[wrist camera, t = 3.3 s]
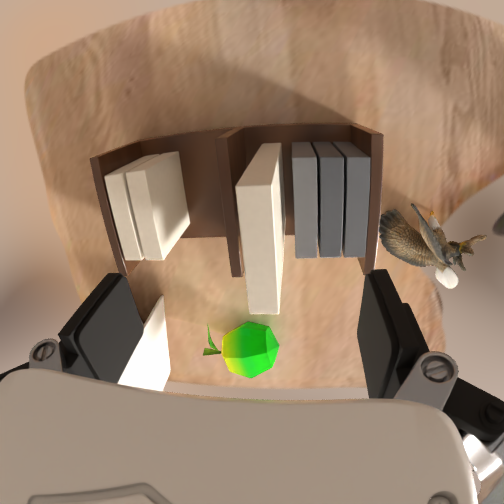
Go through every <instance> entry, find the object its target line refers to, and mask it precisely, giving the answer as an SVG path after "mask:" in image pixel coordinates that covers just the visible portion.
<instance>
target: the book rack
mask: <svg viewBox="0 0 504 504" xmlns="http://www.w3.org/2000/svg"><path fill="white" fill-rule="evenodd" d="M292 142H310V144H311V146H312V148H313V145H312V143H313V142H330V143H331V144H332V145H333V142H351V143H352V144H353V145H355V146H356V147H357V148H359V149H360V150H361V151H363V152H364V153H365V154H366V155H368V156H369V157H370V189H369V209H368V224H367V237H366V249H365V257H358V260H359V263H360V266H361V269H362V272H363V275H366V274H370V272H371V270H374V269H375V261H376V253H377V244H378V234H379V223H380V211H381V196H382V177H383V134H381V133H379V132H376V131H374V130H372V129H369V128H367V127H364V126H362V125H359V124H352V123H300V124H274V125H257V126H243V127H231V128H221V129H212V130H203V131H195V132H187V133H180V134H173V135H167V136H160V137H154V138H148V139H143V140H137V141H135V142H132V143H129V144H126V145H123V146H121V147H118V148H115V149H113V150H110V151H108V152H105V153H102V154H100V155H97V156H95V157H93V158H90V162H91V167H92V172H93V177H94V182H95V186H96V191H97V195H98V199H99V203H100V207H101V211H102V215H103V219H104V223H105V227H106V230H107V234H108V237H109V241H110V244H111V248H112V251H113V255H114V258H115V261H116V264H117V267H118V271H119V273H121V274H122V275H123V276H129V274H130V273H131V272H132V271H133V269H134V268H135V267H136V266H137V264H138V263H139V262H140V261H141V260H125V257H124V254H123V250H122V247H121V243H120V239H119V236H118V232H117V228H116V224H115V220H114V216H113V212H112V208H111V204H110V200H109V196H108V191H107V187H106V182H105V175H107V174H109V173H111V172H113V171H115V170H117V169H119V168H121V167H123V166H125V165H127V164H129V163H131V162H133V161H135V160H137V159H139V158H142V157H144V156H148V155H155V154H159V155H161V154H163V153H169V152H177V151H178V152H179V157H180V164H181V171H182V177H183V184H184V190H185V196H186V202H187V208H188V214H189V220H190V224H189V226H188V227H187V228H186V230H185V231H184V232H183V234H182V235H181V237H180V238H199V237H227V244H228V251H229V259H230V266H231V273H232V277H242V276H243V273H244V262H243V253H242V244H241V235H240V226H239V216H238V207H237V198H236V188H235V187H236V185H237V183H238V181H239V180H240V178H241V177H242V175H243V173H244V172H245V170H246V169H247V167H248V165H249V164H250V162H251V161H252V159H253V158H254V156H255V154H256V153H257V151H258V150H259V148H260V147H261V145H262V144H264V143H281V145H282V161H283V178H284V197H285V218H286V222H285V235H295V217H294V190H293V168H292Z"/></svg>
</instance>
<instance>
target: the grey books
mask: <svg viewBox="0 0 504 504" xmlns="http://www.w3.org/2000/svg"><path fill="white" fill-rule="evenodd" d="M312 145H313V148H312V146H311V144H310V142H292V168H293V190H294V217H295V256H296V258H317V240H318V247H319V253H320V257H321V258H335V257H341V251H343V255H344V257H345V258H347V257H365V249H366V237H367V224H368V209H369V189H370V157H369V156H368V155H366V154H365V153H364V152H363V151H361V150H360V149H359V148H357V147H356V146H355V145H353V144H352V143H351V142H333V145H332V144H331V143H330V142H313V143H312Z"/></svg>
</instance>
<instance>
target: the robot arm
mask: <svg viewBox="0 0 504 504" xmlns="http://www.w3.org/2000/svg"><path fill="white" fill-rule="evenodd" d="M143 333H144V327H143V324H142V321H141V318H140V316H139V313H138V310H137V307H136V304H135V302H134V299H133V296H132V293H131V290H130V287H129V284H128V281H127V278H126V277H124V276H123V275H122V274H121V273H108V274H107V275H106V276H105V277H104V278H103V280H102V281H101V282H100V283H99V284H98V285H97V287H96V288H95V289H94V290H93V291H92V292H91V294H90V295H89V296H88V297H87V298H86V300H85V301H84V302H83V303H82V305H81V306H80V307H79V308H78V309H77V311H76V312H75V313H74V314H73V316H72V317H71V318H70V320H69V321H68V322H67V323H66V325H65V326H64V327H63V329H62V330H61V331H60V333H59V334H58V336H59V337H60V339H61V341H60V342H59V343H58V342H57V341H56V340H55V339H45V340H42V341H40V342H39V343H37V344H36V345H35V346H34V347H33V348H32V350H31V352H30V355H29V362H27V363H25V364H22V365H20V366H18V367H16V368H13V369H11V370H9V371H7V372H5V373H2V374H0V504H504V402H503V401H502V400H500V399H498V398H497V397H495V396H492V395H491V394H489V393H487V392H485V391H483V390H481V389H479V388H477V387H475V386H473V385H472V384H470V383H468V382H466V381H464V380H462V379H460V378H458V372H459V371H458V366H457V364H456V362H455V361H454V360H453V359H452V358H451V357H450V356H449V355H447V354H445V353H442V352H438V351H431V352H430V351H429V349H428V346H427V344H426V342H425V339H424V337H423V334H422V332H421V330H420V328H419V325H418V323H417V321H416V319H415V316H414V314H413V312H412V310H411V308H410V306H409V304H408V303H402V302H401V299H400V297H399V295H398V293H397V291H396V288H395V286H394V284H393V282H392V280H391V278H390V276H389V274H388V272H387V270H386V269H377V270H371V272H370V274H366V275H365V281H364V289H363V296H362V303H361V310H360V316H359V323H358V329H357V338H358V343H359V347H360V352H361V357H362V362H363V367H364V372H365V378H366V383H367V389H368V395H369V399H338V400H258V399H256V400H255V399H236V398H222V397H210V396H199V395H189V394H180V393H173V392H165V391H158V390H151V389H145V388H139V387H133V386H127V385H121V384H118V382H119V380H120V378H121V376H122V374H123V372H124V370H125V368H126V366H127V364H128V362H129V360H130V358H131V356H132V355H133V353H134V351H135V349H136V347H137V345H138V343H139V341H140V339H141V338H142V336H143ZM470 463H471V464H472V466H473V467H474V468H475V469H474V470H473V471H474V472H475V473H476V475H477V476H478V477H479V479H480V481H481V490H480V493H479V495H478V496H477V493H476V488H475V483H474V479H473V474H472V470H471V465H470ZM430 498H431V499H430Z"/></svg>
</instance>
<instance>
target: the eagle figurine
mask: <svg viewBox="0 0 504 504" xmlns="http://www.w3.org/2000/svg"><path fill="white" fill-rule="evenodd" d="M411 206H412V207H413V209H414V210H415V211H416V213H417V215H418V218H419V226H420V232H421V234H420V233H419V232H417V231H416V230H415V229H414V228H412V227H411V226H410V225H409V224H408V223H407V222H406V220H405V219H404V218H403V217H402V216H401V214H400V213H399V212H398V211H397V210H395V209H393V210H392V211H387V212H386V215H385V214H383V215H381V219H380V223H379V225H380V226H379V232H380V233H381V235H380V238H381V239H382V241H381V242H382V244H383V246H384V247H385V248H386V250H387V251H388V252H390V254H392V255H394V256H395V257H397V258H399V259H402V260H403V261H405V262H407V263H409V264H411V265H415V266H420V267H426V266H430V265H431V266H434V265H435V266H436V273H435V274H436V275H435V276H436V278H437V280H438V281H439V282H441V283H442V284H443V285H444V286H445V287H447V288H449V289H451V288H454V287H455V286H457V284H458V276H457V275H456V273H455V272H454V271H453V270H452V268H451V267H450V266H451V265H452V263H451V262H450V261H449V258H451V257H453V263H454V265H456V261H457V264H458V265H459V266H460V267H461V269H462V270H463V271H466V269H465V267H464V265H463V262H462V255H461V254H462V253H465V254H467V255H470V256H473V255H474V252H473V249H472V248H471V246H472V245H473V244H475V243H476V242H478V241H480V240H484V239H486V238H487V236H486V235H478V236H475V237H473V238H471V239H470V240H467V241H464V242H462V243H457V242H454V241H452V242H451V241H450V242H448V243H447V242H446V238H445V235H444V233H443V231H442V229H441V227H440V226H439V223H438V221H437V219H436V218H435V216H434V212H433V211H432V212H431V213H430V217H429V219H428V222H429V225H428V224H427V222H426V221H425V220H424V218H423V217H422V216H421V214H420V213H419V211H418V209H417V207H416V206H415V205H414V204H412V203H411ZM429 226H430V227H429Z"/></svg>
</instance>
